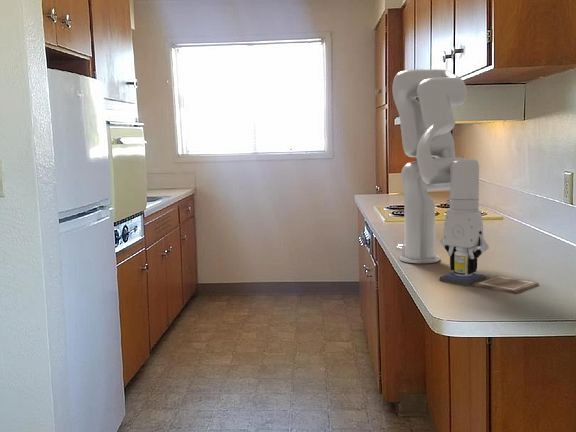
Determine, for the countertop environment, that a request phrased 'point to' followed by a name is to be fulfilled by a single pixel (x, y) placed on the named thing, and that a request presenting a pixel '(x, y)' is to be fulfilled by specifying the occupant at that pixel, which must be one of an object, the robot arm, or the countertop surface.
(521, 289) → the marked board
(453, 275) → the ink pad
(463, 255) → the supplement bottle
